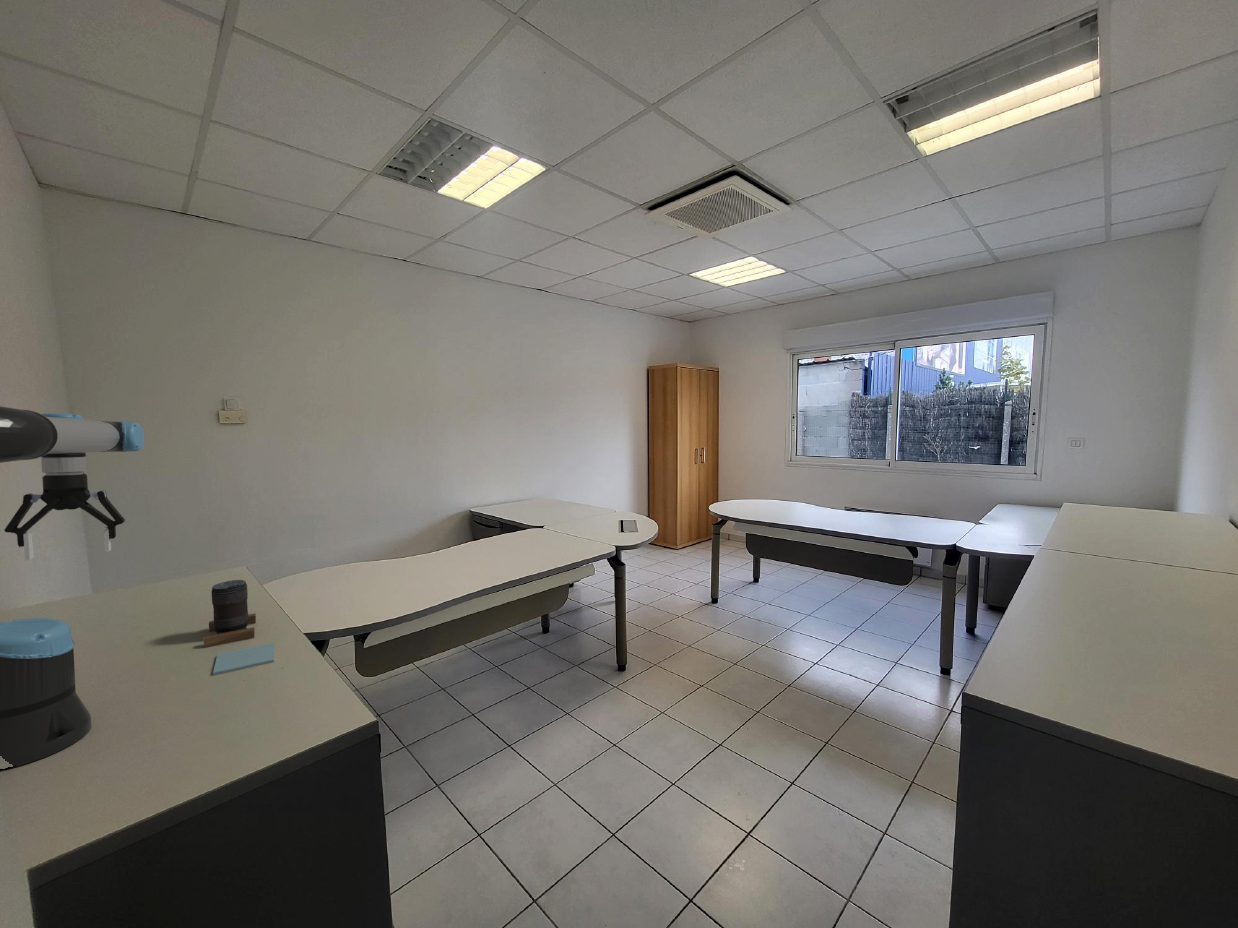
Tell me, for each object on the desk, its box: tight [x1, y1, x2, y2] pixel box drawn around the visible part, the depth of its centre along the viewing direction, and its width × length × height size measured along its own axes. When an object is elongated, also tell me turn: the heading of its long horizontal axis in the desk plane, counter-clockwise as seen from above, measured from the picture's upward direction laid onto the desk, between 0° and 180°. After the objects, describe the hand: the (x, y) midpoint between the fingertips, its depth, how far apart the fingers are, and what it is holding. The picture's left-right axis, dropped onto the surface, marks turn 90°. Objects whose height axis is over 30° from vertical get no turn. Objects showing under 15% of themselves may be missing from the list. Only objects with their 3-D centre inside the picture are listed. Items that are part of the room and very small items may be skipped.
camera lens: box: [210, 579, 249, 634], centre depth 139 cm, size 8×8×15 cm
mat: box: [212, 642, 275, 676], centre depth 124 cm, size 12×12×1 cm
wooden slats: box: [203, 612, 257, 649], centre depth 139 cm, size 15×11×4 cm
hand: (70, 554), depth 123 cm, fingers open, 13 cm apart
